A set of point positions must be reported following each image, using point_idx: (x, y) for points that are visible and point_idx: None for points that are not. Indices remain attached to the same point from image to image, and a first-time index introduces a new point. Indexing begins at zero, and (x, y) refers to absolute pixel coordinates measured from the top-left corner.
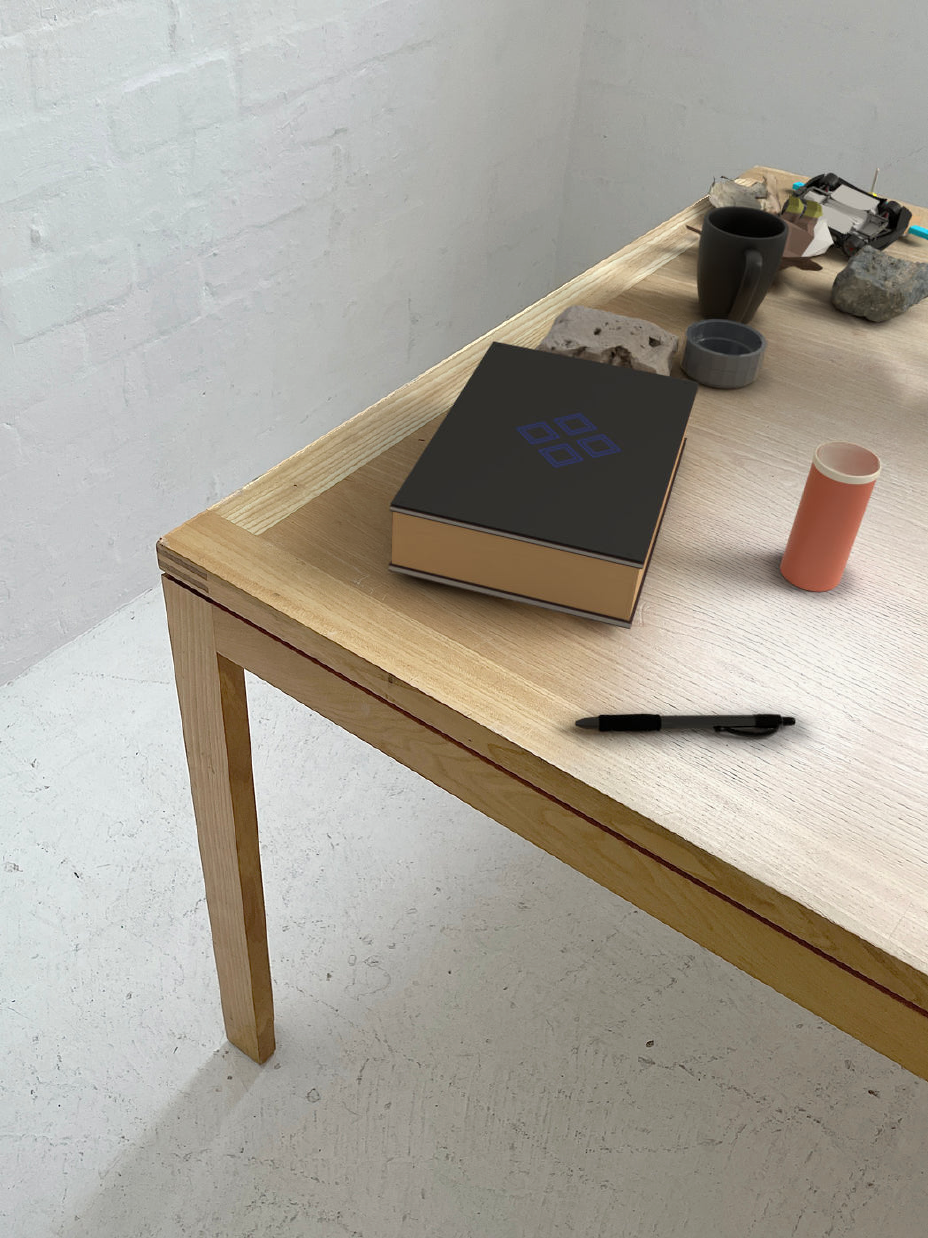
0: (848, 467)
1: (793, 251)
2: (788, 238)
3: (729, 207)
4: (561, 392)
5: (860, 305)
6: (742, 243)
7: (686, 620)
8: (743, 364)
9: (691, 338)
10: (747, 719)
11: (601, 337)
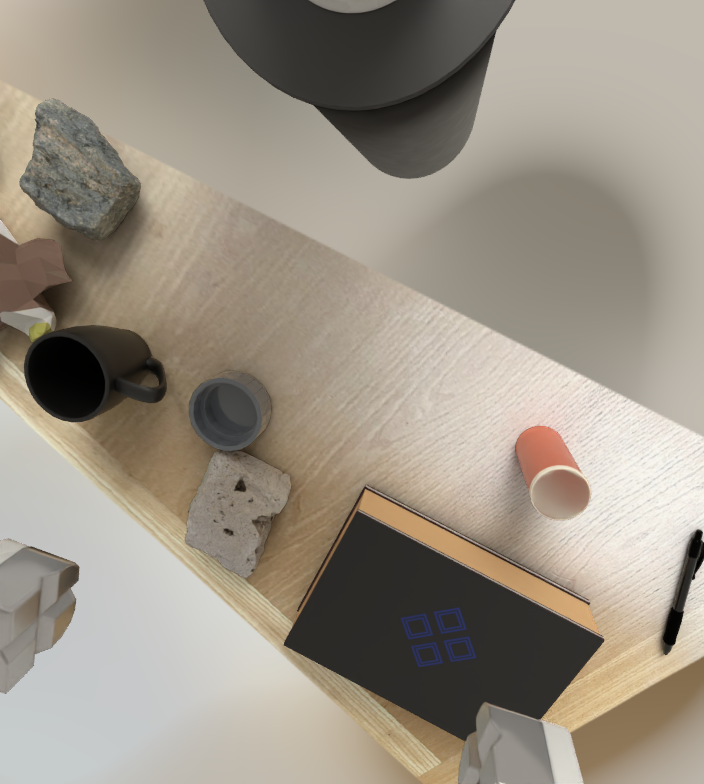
0: (574, 500)
1: (14, 255)
2: (3, 265)
3: (29, 381)
4: (367, 621)
5: (118, 218)
6: (111, 396)
7: (575, 552)
8: (263, 409)
9: (227, 447)
10: (695, 563)
11: (240, 533)
